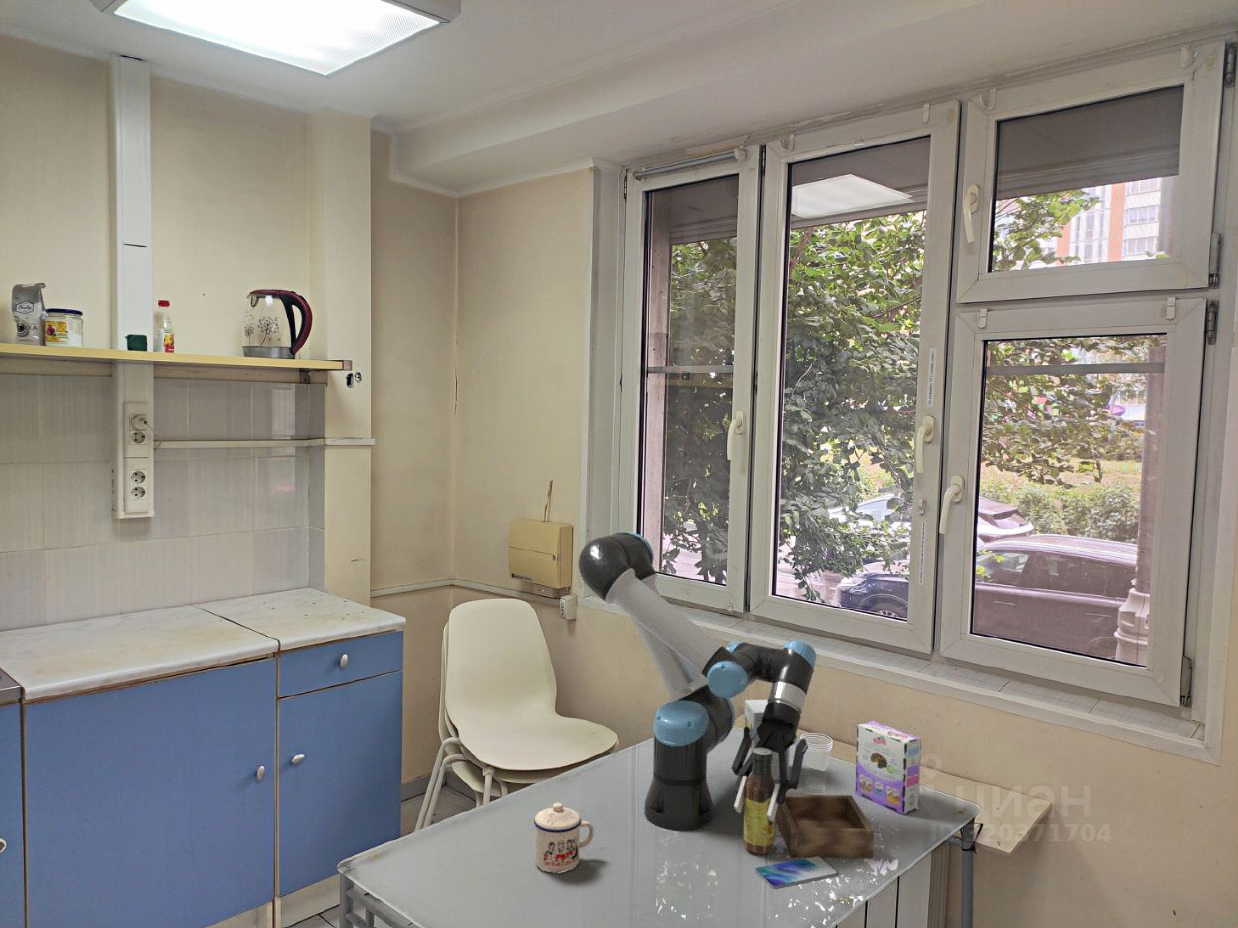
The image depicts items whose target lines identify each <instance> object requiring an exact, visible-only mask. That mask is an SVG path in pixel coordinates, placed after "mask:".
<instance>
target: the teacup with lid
mask: <svg viewBox="0 0 1238 928" xmlns="http://www.w3.org/2000/svg"><path fill="white" fill-rule="evenodd" d="M533 823H534V828H535V829H534V832H535V833H534V864H535V863H536V864H535V866H536V865H537V866H538V867H540V868H541V869H543V870H546V871H550V872H561V871H566V870H570V869H572V868H574V867H575V866H577V864H578V863H579V864H580V849H582V848H584V847H587V846H588V845H589V844H590V843H591V842H592V840H593V839H594V834H595V828H594V826H593V824H592V823H591V822H589V821H585V820H584V821H582V818H581V816H580V814H579V812H577V811H576V810H574V809H572V808H568V807H565V806H564V805H563V804H562V803H561V802H555V803H553V804H552V807H547V808H544V809H542V810H541V811H539V812H537V814H536V815H535V817H534V819H533ZM583 827H588V828H589V832H588V836H587V838H586V839H585V840H583V841H582V842H580V837H581V835H580V833H581V828H583ZM579 864H578V865H579ZM537 866H536V867H537ZM538 867H537V868H538ZM577 867H578V866H577Z"/></svg>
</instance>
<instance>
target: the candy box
mask: <svg viewBox="0 0 1238 928" xmlns="http://www.w3.org/2000/svg"><path fill="white" fill-rule="evenodd" d="M921 750H922V738H921V737H919V736H915V735H913V734H910V733H907V732H904V731H901V730H898V729H896V728H893V727H890V726H889V725H885V724H883V723H880V722H877V721H874V720H872V721H868V722H864V723H860V724H858V725H856V759H855V760H856V761H855V762H856V764H855V768H856V770H855V791H854V792H855V794H856V795H859V796H861V797H863V798H865V797H866V798H865V799H868V800H870V801H872V802H874V803H877V804H878V805H881V806H883V807H885V808H887V809H889V810H892V811H894V812H897V813H899V814H901V815H905V814H908V813H911V812H914V811H917V810H919V806H920V805H919V803H920V779H921V777H920V776H921V774H920V773H921V752H922V751H921Z"/></svg>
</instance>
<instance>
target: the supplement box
mask: <svg viewBox="0 0 1238 928" xmlns="http://www.w3.org/2000/svg"><path fill="white" fill-rule="evenodd" d="M744 701H745V702H744V721H743V722H744V723H743V725H744V727H743V729H744V728H745V727H749V729H757V727H758V726H759V725H760V724H761V721H762V717H763V714H764V711H765V707H766V705H767V704H768V703H767V701H768V699H748V700H747V699H746V700H744ZM759 740H760V739H759V736H758V735H756V736H755V738H754V740H752V743H751V746H750V749H749V751H748V754H747V757H746V759H745V762H746V761H747V759H748V758H749V756H750V755H751V753H752V750H753V749H755V748H756V745H757V743H758V741H759ZM790 748H791V746H790V747H789V748H788V749H787V771H788V780H790V777H789V773H790V750H791V749H790ZM745 762H744V764H745ZM744 764H743V765H744ZM751 774H752V772H751ZM751 774H750V775H751ZM771 774H772V778H773V781H780V773H779V754H778V753H776V752H775V751H772V760H771ZM750 775H749V777H750Z"/></svg>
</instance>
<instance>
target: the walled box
mask: <svg viewBox="0 0 1238 928" xmlns="http://www.w3.org/2000/svg"><path fill="white" fill-rule="evenodd" d="M775 823H776V825H777V827H778V829H779V832H780V834H781V837H782V840H783V842H784V844H785V846H786V848H787V851H788V855H789V856H790V858H808V857H813V856H820V857H822V858H823V859H824V858H826V859H827V858H829V859H874V847H875V845H874V844H875V843H874V841H875V830H874V829H873V827H872V826H871V824H870V822H869V821H868V819H867V817H866V816H865V815H864V812H863V811H862V810H861V808H860V806H859V805H858V803H857V802H856V800H855V798H854V797H853V796H852V795H851V794H849V795H847V794H846V795H843V794H842V795H839V794H837V795H835V794H834V795H833V794H786V796H785V800H784V803H783V804H782V805H780V804H778V807H777V811H776V817H775Z"/></svg>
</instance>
